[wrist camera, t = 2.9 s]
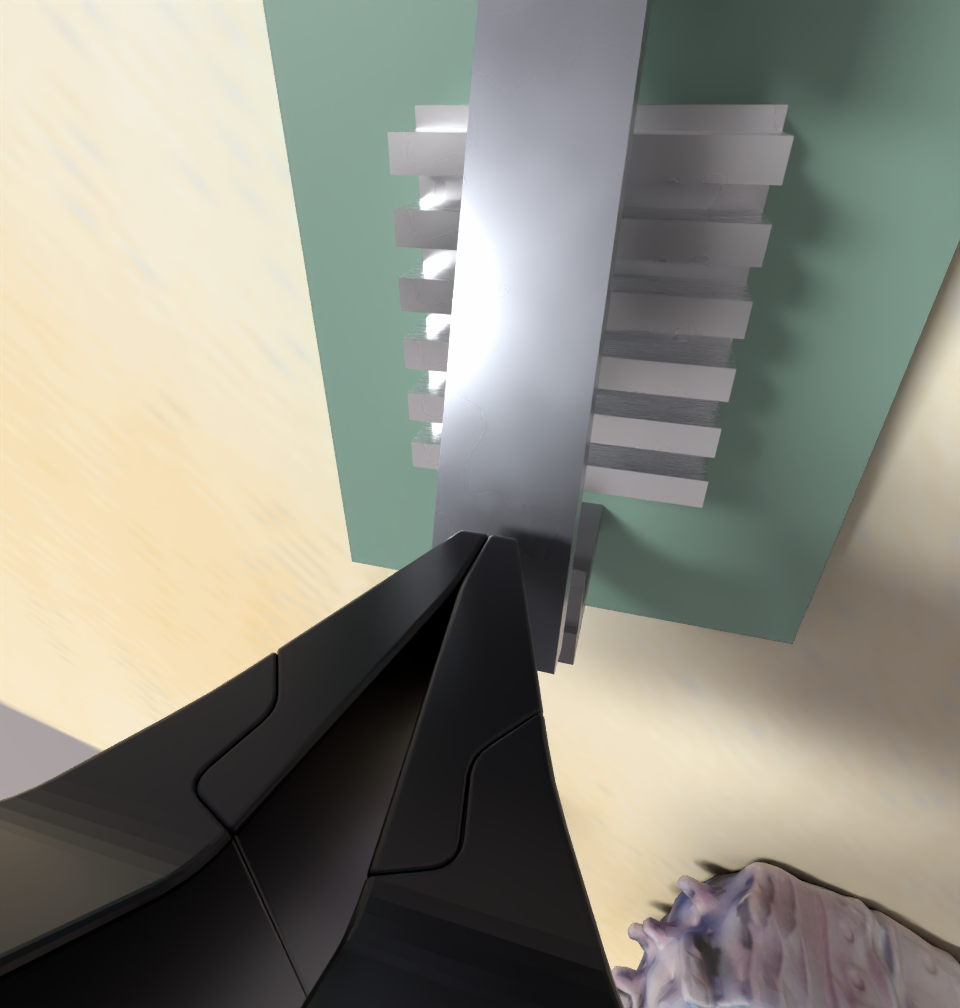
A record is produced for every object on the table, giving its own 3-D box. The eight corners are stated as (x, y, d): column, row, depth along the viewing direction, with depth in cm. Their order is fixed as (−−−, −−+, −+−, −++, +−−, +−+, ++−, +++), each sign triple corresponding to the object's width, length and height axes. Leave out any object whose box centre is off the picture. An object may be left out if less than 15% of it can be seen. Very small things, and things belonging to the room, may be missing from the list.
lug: (607, 470, 17) (581, 595, 13) (599, 531, 18) (573, 664, 14) (525, 458, 18) (474, 575, 13) (522, 519, 19) (475, 643, 15)
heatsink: (778, 104, 12) (801, 105, 9) (696, 459, 16) (698, 522, 14) (439, 104, 13) (385, 106, 11) (450, 428, 18) (414, 479, 15)
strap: (496, -224, 8) (479, -294, 7) (711, -252, 8) (720, -333, 7) (425, 621, 11) (406, 642, 10) (578, 653, 10) (572, 678, 9)
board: (1191, -412, 8) (1255, -477, 7) (787, 617, 20) (792, 643, 19) (254, -262, 12) (215, -293, 11) (366, 541, 23) (352, 561, 22)
